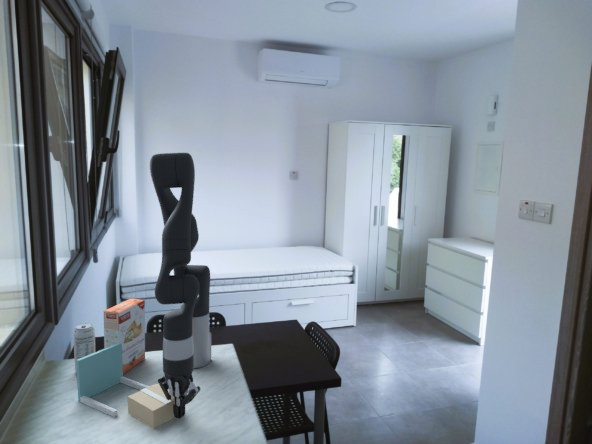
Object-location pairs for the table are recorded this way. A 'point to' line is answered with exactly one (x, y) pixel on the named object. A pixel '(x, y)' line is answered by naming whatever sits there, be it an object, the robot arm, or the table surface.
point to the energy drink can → (83, 341)
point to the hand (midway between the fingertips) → (179, 416)
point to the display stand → (102, 376)
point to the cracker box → (126, 331)
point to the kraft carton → (150, 406)
